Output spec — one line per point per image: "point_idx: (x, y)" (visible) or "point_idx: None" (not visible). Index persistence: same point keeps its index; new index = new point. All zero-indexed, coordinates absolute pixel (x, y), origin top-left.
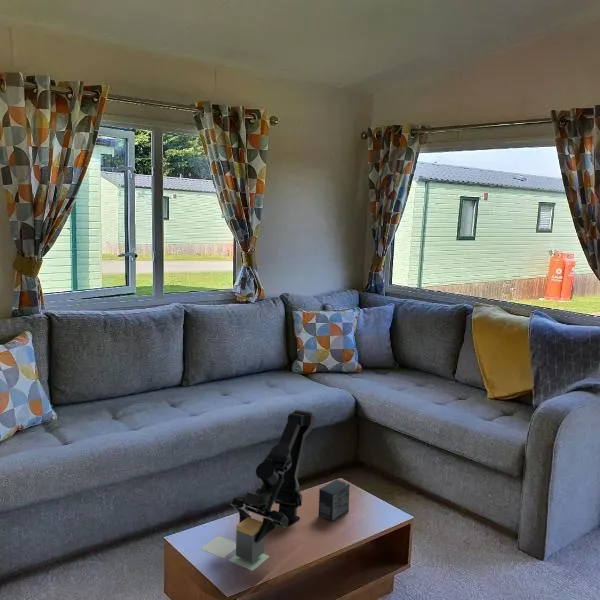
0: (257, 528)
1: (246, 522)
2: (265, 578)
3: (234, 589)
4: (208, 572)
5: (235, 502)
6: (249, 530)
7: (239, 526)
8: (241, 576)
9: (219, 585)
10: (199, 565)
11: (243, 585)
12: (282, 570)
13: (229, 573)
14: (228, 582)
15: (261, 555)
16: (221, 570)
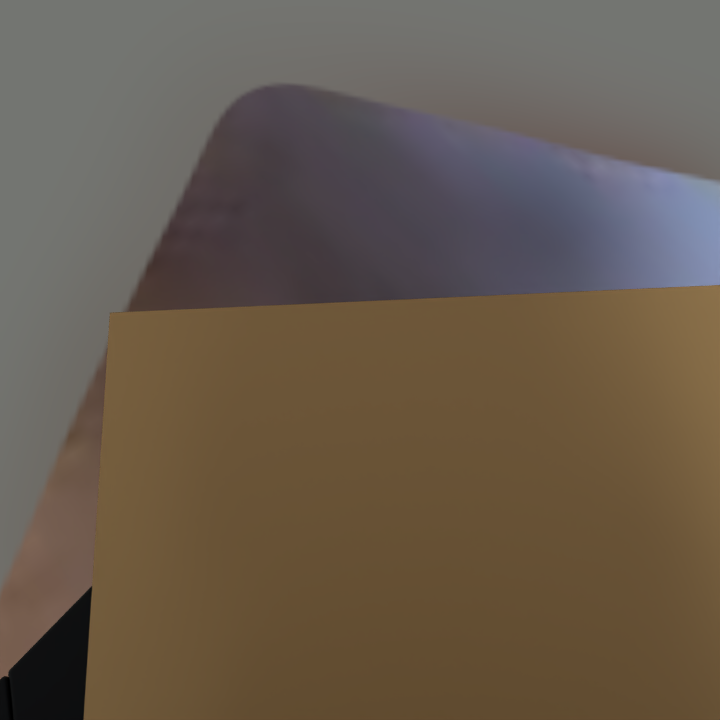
0: (103, 607)
1: (683, 663)
2: (94, 411)
3: (241, 139)
4: (576, 175)
5: None
6: (246, 308)
7: (667, 290)
8: (302, 301)
9: (376, 107)
10: (717, 200)
11: (209, 218)
12: (7, 632)
13: (420, 270)
14: (342, 175)
15: None
16: (509, 261)
